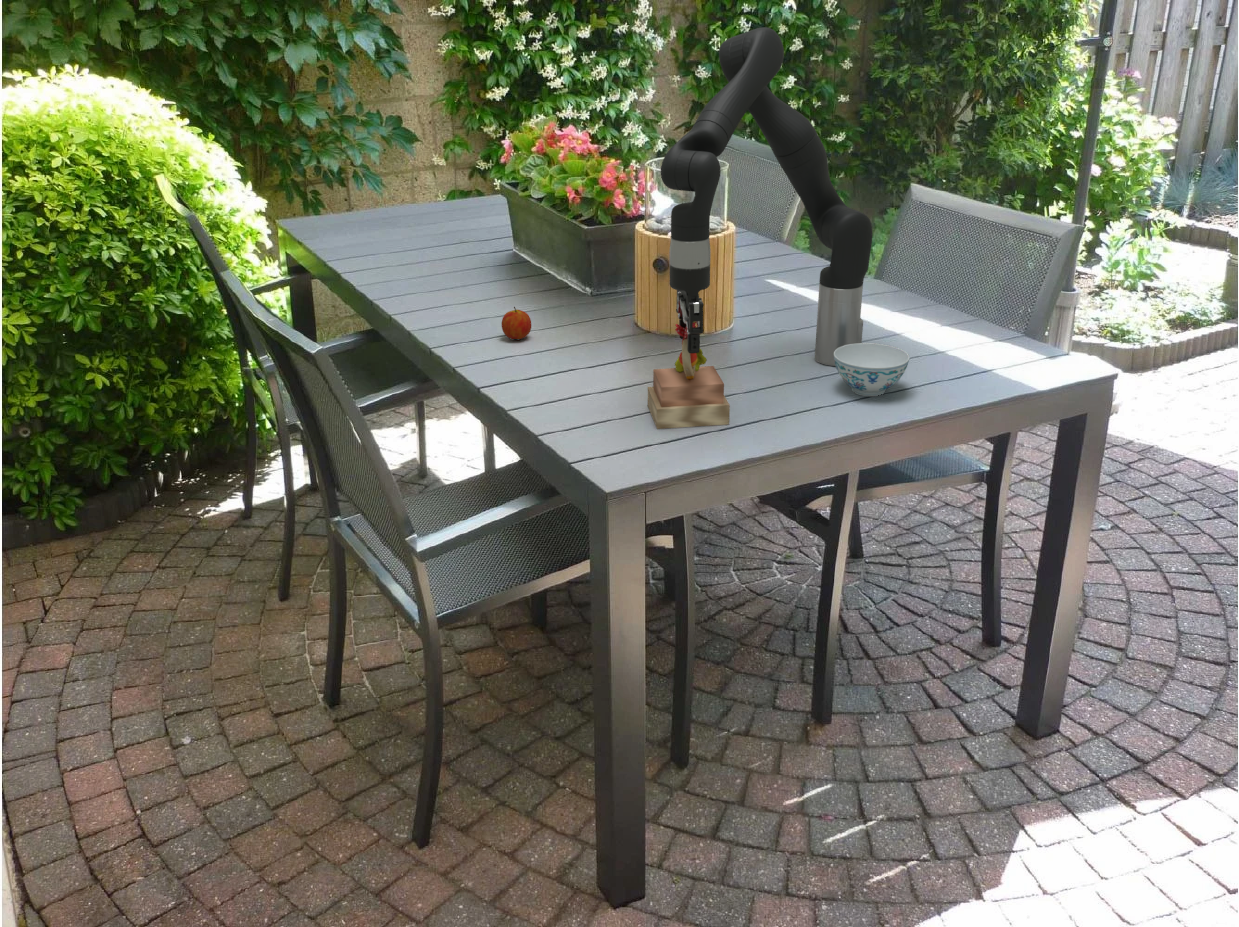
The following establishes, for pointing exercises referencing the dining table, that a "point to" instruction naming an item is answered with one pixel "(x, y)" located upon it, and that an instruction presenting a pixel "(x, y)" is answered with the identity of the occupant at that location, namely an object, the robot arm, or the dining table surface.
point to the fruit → (516, 324)
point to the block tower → (687, 399)
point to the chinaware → (870, 366)
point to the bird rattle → (688, 356)
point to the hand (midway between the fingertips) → (689, 345)
